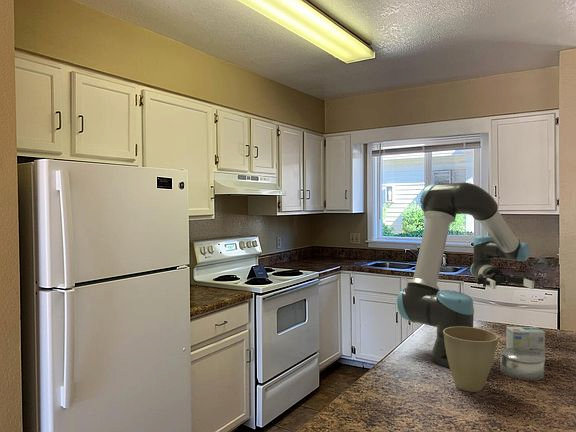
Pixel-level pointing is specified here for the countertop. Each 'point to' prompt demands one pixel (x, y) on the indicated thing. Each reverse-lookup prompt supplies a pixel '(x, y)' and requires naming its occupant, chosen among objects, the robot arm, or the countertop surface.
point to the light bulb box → (526, 338)
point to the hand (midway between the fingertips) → (513, 285)
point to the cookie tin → (522, 363)
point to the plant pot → (470, 355)
